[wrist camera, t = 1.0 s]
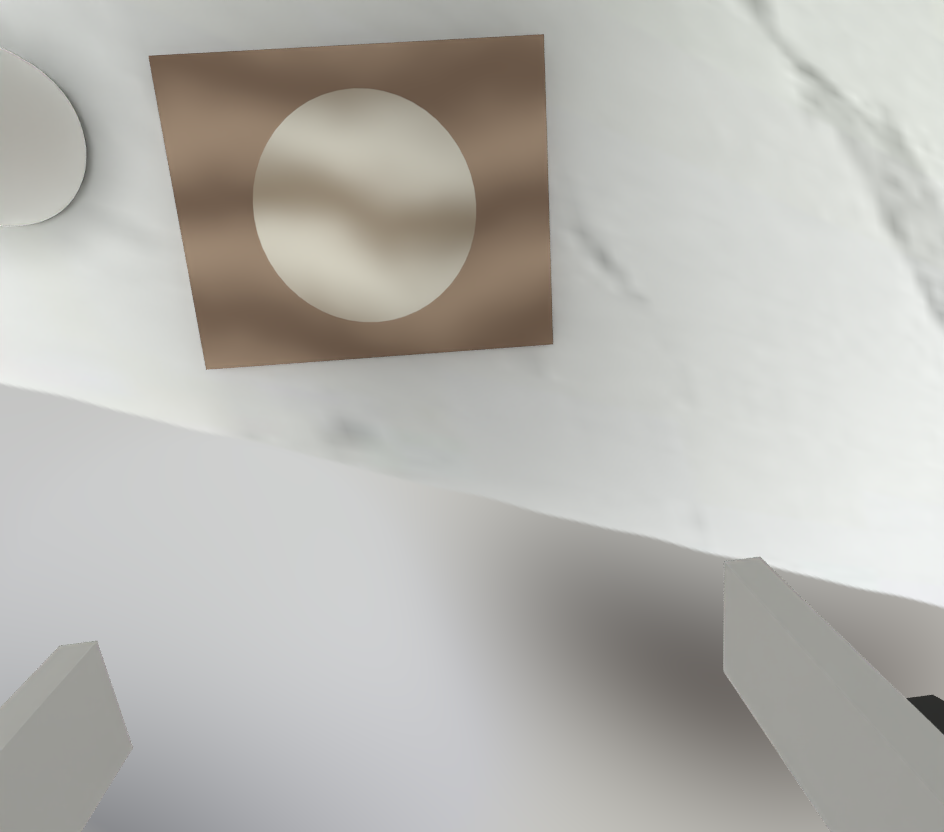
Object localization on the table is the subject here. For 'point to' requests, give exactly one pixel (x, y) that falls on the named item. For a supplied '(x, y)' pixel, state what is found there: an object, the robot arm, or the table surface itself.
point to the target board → (361, 197)
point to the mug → (36, 144)
